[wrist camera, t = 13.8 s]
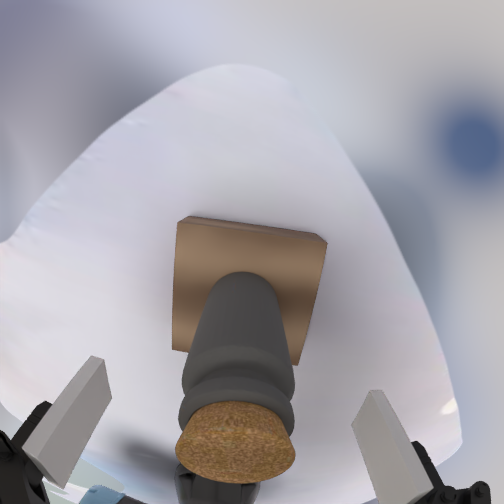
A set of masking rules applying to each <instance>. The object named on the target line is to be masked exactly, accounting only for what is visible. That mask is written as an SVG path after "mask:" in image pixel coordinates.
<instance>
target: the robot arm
mask: <svg viewBox="0 0 504 504" xmlns="http://www.w3.org/2000/svg"><path fill="white" fill-rule="evenodd" d="M111 399H112V395H111V391H110V387H109V382H108V377H107V372H106V367H105V362H104V359H101V358H98V357H95V356H90V358H89V359H88V360H87V361H86V362H85V364H84V365H83V366H82V367H81V369H80V370H79V371H78V372H77V374H76V375H75V376H74V377H73V379H72V380H71V381H70V382H69V384H68V385H67V386H66V388H65V389H64V390H63V391H62V393H61V394H60V395H59V397H58V398H57V399H56V401H55V402H54V403H53V404H51V403H49V402H47V401H44V402H42V403H41V404H39V405H37V406H36V408H35V409H34V410H33V411H32V413H31V415H29V417H28V418H27V420H25V422H24V423H23V424H22V426H21V427H20V428H19V430H18V431H17V433H16V434H15V435H14V437H13V438H12V440H10V439H9V438H8V436H7V435H6V434H5V433H4V432H3V431H1V430H0V504H50V502H49V499H48V496H47V493H46V490H45V487H44V484H43V482H42V478H43V476H44V477H45V478H46V479H47V480H48V481H49V482H50V483H52V484H54V485H56V486H57V487H59V488H61V489H63V490H64V487H65V485H66V483H67V481H68V479H69V477H70V475H71V473H72V471H73V469H74V467H75V465H76V463H77V461H78V459H79V458H80V456H81V454H82V452H83V450H84V448H85V446H86V444H87V442H88V440H89V439H90V437H91V435H92V433H93V431H94V429H95V427H96V426H97V424H98V422H99V420H100V418H101V417H102V415H103V413H104V411H105V409H106V408H107V406H108V404H109V402H110V401H111ZM352 428H353V431H354V433H355V436H356V439H357V442H358V445H359V447H360V450H361V453H362V456H363V458H364V461H365V464H366V467H367V470H368V473H369V476H370V479H371V481H372V484H373V487H374V490H375V493H376V496H377V499H378V502H379V504H491V496H490V488H489V486H488V484H487V483H485V482H483V481H478V482H476V483H475V484H473V485H472V486H471V487H470V488H466V489H459V490H456V489H455V488H454V487H451V486H445V485H444V484H443V482H442V480H441V478H440V476H439V474H438V472H437V471H436V469H435V467H434V465H433V463H431V459H430V457H428V454H427V452H426V450H425V448H424V447H423V446H422V445H421V444H420V443H419V442H418V441H414V442H410V440H409V438H408V436H407V434H406V432H405V430H404V428H403V427H402V425H401V423H400V421H399V419H398V417H397V416H396V414H395V412H394V410H393V408H392V406H391V405H390V403H389V401H388V399H387V398H386V396H385V394H384V392H383V390H372V391H369V393H368V395H367V397H366V399H365V401H364V403H363V405H362V407H361V409H360V411H359V412H358V414H357V416H356V418H355V420H354V421H353V423H352ZM175 485H176V490H177V495H178V500H179V504H254V501H255V499H256V497H257V494H258V492H259V488H260V482H253V483H226V482H220V481H215V480H211V479H208V478H205V477H202V476H200V475H198V474H196V473H193V472H192V471H190V470H189V469H187V468H186V467H185V466H184V465H182V464H180V465H179V466H178V467H177V469H176V473H175ZM79 504H147V503H144V502H141V501H139V500H136V499H134V498H131V497H129V496H126V495H125V494H124V493H119V492H117V491H114V490H112V489H109V488H107V487H105V486H102V485H95V486H92V487H91V488H90V489H89V490H88V491H87V493H86V494H85V495H84V497H83V498H82V499H81V501H80V502H79Z"/></svg>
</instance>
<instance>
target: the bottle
mask: <svg viewBox="0 0 504 504" xmlns="http://www.w3.org/2000/svg"><path fill="white" fill-rule="evenodd" d="M182 387H183V392H184V394H185V397H184V399H183V401H182V403H181V407H180V410H179V416H178V420H179V425H180V428H181V430H182V431H183V433H182V434H181V436H180V438H179V440H178V441H177V444H176V447H175V452H176V456H177V458H178V460H179V461H180V462H181V464H182V465H184V466H185V467H186V468H187V469H189V470H190V471H192V472H193V473H196V474H198V475H200V476H202V477H205V478H208V479H211V480H215V481H220V482H226V483H253V482H260V481H264V480H268V479H271V478H273V477H276V476H278V475H280V474H282V473H283V472H285V471H286V470H287V469H288V468H289V467H290V466H291V465H292V464H293V462H294V460H295V450H294V448H293V445H292V443H291V441H290V438H289V437H290V435H291V434H292V432H293V429H294V422H295V421H294V414H293V409H292V405H291V403H290V400H291V399H292V396H293V394H294V389H295V380H294V373H293V368H292V363H291V358H290V353H289V348H288V344H287V339H286V335H285V330H284V326H283V321H282V317H281V313H280V308H279V304H278V300H277V296H276V293H275V291H274V289H273V288H272V286H271V285H270V284H269V283H268V282H267V281H266V280H265V279H264V278H262V277H261V276H259V275H256V274H254V273H250V272H234V273H230V274H228V275H226V276H224V277H222V278H221V279H219V280H218V281H217V282H216V283H215V284H214V286H213V287H212V289H211V291H210V293H209V295H208V298H207V301H206V303H205V306H204V309H203V311H202V314H201V317H200V320H199V323H198V326H197V329H196V332H195V335H194V338H193V341H192V344H191V347H190V350H189V353H188V357H187V360H186V363H185V367H184V370H183V375H182Z"/></svg>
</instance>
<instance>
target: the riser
mask: <svg viewBox="0 0 504 504" xmlns="http://www.w3.org/2000/svg"><path fill="white" fill-rule="evenodd" d="M327 244H328V243H327V242H326V241H324V240H323V239H322V238H321V237H320V236H318V235H317V234H314V233H308V232H301V231H294V230H288V229H281V228H274V227H267V226H260V225H253V224H246V223H239V222H231V221H224V220H216V219H208V218H200V217H192V216H188V217H186V218H184V219H183V220H181V221H179V222H178V223H177V234H176V247H175V262H174V281H173V308H172V350H177V351H182V352H188V353H189V350H190V347H191V344H192V341H193V338H194V335H195V332H196V329H197V326H198V323H199V320H200V317H201V314H202V311H203V309H204V306H205V303H206V301H207V298H208V295H209V293H210V291H211V289H212V287H213V286H214V284H215V283H216V282H217V281H218V280H219V279H221V278H222V277H224V276H226V275H228V274H230V273H234V272H250V273H254V274H256V275H259V276H261V277H262V278H264V279H265V280H266V281H267V282H268V283H269V284H270V285H271V286H272V288H273V289H274V291H275V293H276V296H277V300H278V304H279V308H280V313H281V317H282V321H283V326H284V330H285V335H286V339H287V344H288V348H289V353H290V358H291V363H292V365H298V363H299V359H300V356H301V352H302V349H303V345H304V342H305V338H306V334H307V330H308V327H309V323H310V319H311V315H312V311H313V307H314V303H315V299H316V294H317V290H318V286H319V281H320V277H321V273H322V268H323V263H324V259H325V254H326V249H327Z"/></svg>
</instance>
